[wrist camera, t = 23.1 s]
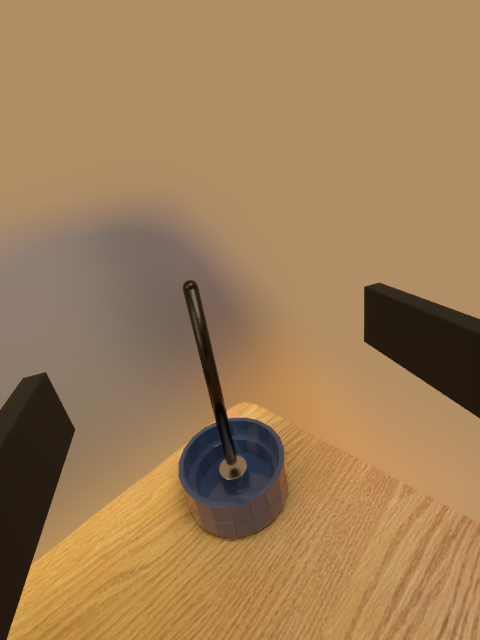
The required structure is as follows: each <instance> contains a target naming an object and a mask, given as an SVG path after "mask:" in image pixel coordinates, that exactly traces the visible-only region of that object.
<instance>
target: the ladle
mask: <svg viewBox="0 0 480 640" xmlns="http://www.w3.org/2000/svg"><path fill="white" fill-rule="evenodd" d="M183 292H184V295H185V300H186V304H187V308H188V312H189V316H190V320H191V324H192V328H193V332H194V335H195V340H196V344H197V348H198V352H199V356H200V360H201V364H202V368H203V372H204V376H205V380H206V384H207V388H208V392H209V396H210V400H211V404H212V408H213V412H214V416H215V420H216V424H217V428H218V432H219V436H220V440H221V444H222V448H223V452H224V456H225V459H224V460H223V461H222V462H221V464H220V467H219V472H220V476H221V480H222V483H223V487H224V489H225V491H226V492H227V493H229V494H232V495H238V494H241V493H243V492H245V491H246V490H247V488H248V487H249V485H250V476H249V472H248V467H247V463H246V460H245V459H244V458H243V457H241V456H238V455H236V452H235V448H234V443H233V439H232V435H231V430H230V426H229V421H228V417H227V412H226V408H225V404H224V399H223V395H222V391H221V386H220V382H219V377H218V373H217V369H216V364H215V360H214V355H213V351H212V346H211V342H210V337H209V333H208V329H207V324H206V320H205V316H204V312H203V307H202V302H201V298H200V293H199V289H198V285H197V283H196V282H195V281H193V280H188V281H186V282H185V283H184V285H183Z"/></svg>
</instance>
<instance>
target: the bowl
mask: <svg viewBox="0 0 480 640" xmlns="http://www.w3.org/2000/svg"><path fill="white" fill-rule="evenodd" d="M228 421H229V426H230V430H231V435H232V439H233V443H234V448H235V452H236V455H238V456H241V457H243V458H244V459H245V460H246V463H247V467H248V472H249V476H250V485H249V487H248V488H247V490H246V491H245V492H243V493H241V494H238V495H232V494H229V493H227V492H226V491H225V489H224V487H223V483H222V480H221V476H220V472H219V467H220V464H221V462H222V461H223V460H224V459H225V456H224V452H223V448H222V444H221V440H220V436H219V432H218V428H217V424H216V423H213V424H211V425H209V426H207V427H205V428H204V429H202V430H201V431H200V432H199V433H197V434H196V435H195V436H194V437H193V438H192V439H191V440H190V442H189V443H188V444H187V446H186V447H185V448H184V450H183V453H182V455H181V458H180V461H179V479H180V482H181V485H182V488H183V490H184V493H185V496H186V499H187V502H188V505H189V507H190V510H191V513H192V515H193V518H194V519H195V520H196V522H197V523H198V524H199V525H200V526H201V527H202V528H203V529H204V530H205V531H208V532H210V533H212V534H214V535H217V536H219V537H230V538H240V537H243V536H247V535H251V534H254V533H257V532H259V531H260V530H261V529H263V528H264V527H266V526H267V525H269V524H270V523H271V522H272V521H273V520H274V519H275V518H276V516H277V515H278V514H279V512H280V511H281V510H282V508H283V506H284V503H285V500H286V497H287V495H288V474H287V467H286V459H285V452H284V447H283V445H282V442H281V440H280V437H279V436H278V435H277V434H276V432H275V431H274V430H273V429H272V428H271V427H270V426H268V425H266V424H264V423H262V422H260V421H258V420H254V419H249V418H230V419H228Z"/></svg>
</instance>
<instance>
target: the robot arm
mask: <svg viewBox="0 0 480 640" xmlns="http://www.w3.org/2000/svg"><path fill="white" fill-rule="evenodd" d="M364 288H365V289H364V342H366V343H368V344H369V345H370V346H372V347H373V348H375V349H376V350H378V351H379V352H381V353H382V354H384V355H385V356H387V357H388V358H390V359H392V360H393V361H394V362H396V363H398V364H399V365H400V366H402V367H403V368H405V369H407V370H408V371H409V372H411V373H412V374H414V375H416V376H417V377H419V378H420V379H422V380H423V381H425V382H426V383H427V384H429V385H430V386H432V387H434V388H435V389H437V390H438V391H440V392H441V393H442V394H444V395H446V396H447V397H449V398H450V399H452V400H453V401H455V402H456V403H458V404H459V405H461V406H462V407H464V408H465V409H467V410H468V411H470V412H471V413H473V414H474V415H476V416H477V417H479V418H480V319H478V318H475V317H472V316H470V315H466V314H464V313H461V312H458V311H456V310H453V309H450V308H448V307H445V306H442V305H439V304H437V303H433V302H431V301H428V300H426V299H423V298H420V297H417V296H415V295H412V294H409V293H406V292H404V291H401V290H398V289H395V288H393V287H390V286H387V285H384V284H382V283H377V284H373V285H369V286H366V287H364ZM74 432H75V428H74V426H73V424H72V423H71V421H70V419H69V417H68V415H67V413H66V411H65V409H64V407H63V405H62V403H61V401H60V399H59V397H58V395H57V393H56V391H55V389H54V388H53V386H52V384H51V382H50V380H49V378H48V376H47V374H46V372H45V373H41V374H37V375H34V376H30V377H26V378H23V379H22V380H21V382H20V383H19V385H18V386H17V387H16V389H15V390H14V391H13V393H12V394H11V396H10V397H9V398H8V400H7V401H6V403H5V404H4V406H3V407H2V409H1V410H0V640H7V637H8V634H9V631H10V627H11V624H12V621H13V618H14V615H15V612H16V609H17V606H18V603H19V600H20V597H21V594H22V591H23V588H24V585H25V582H26V579H27V575H28V572H29V569H30V566H31V563H32V560H33V557H34V554H35V551H36V548H37V545H38V542H39V539H40V536H41V533H42V530H43V526H44V523H45V520H46V517H47V514H48V511H49V508H50V505H51V502H52V499H53V496H54V493H55V489H56V487H57V484H58V480H59V478H60V474H61V471H62V468H63V465H64V462H65V459H66V456H67V453H68V450H69V447H70V444H71V441H72V438H73V435H74Z"/></svg>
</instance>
